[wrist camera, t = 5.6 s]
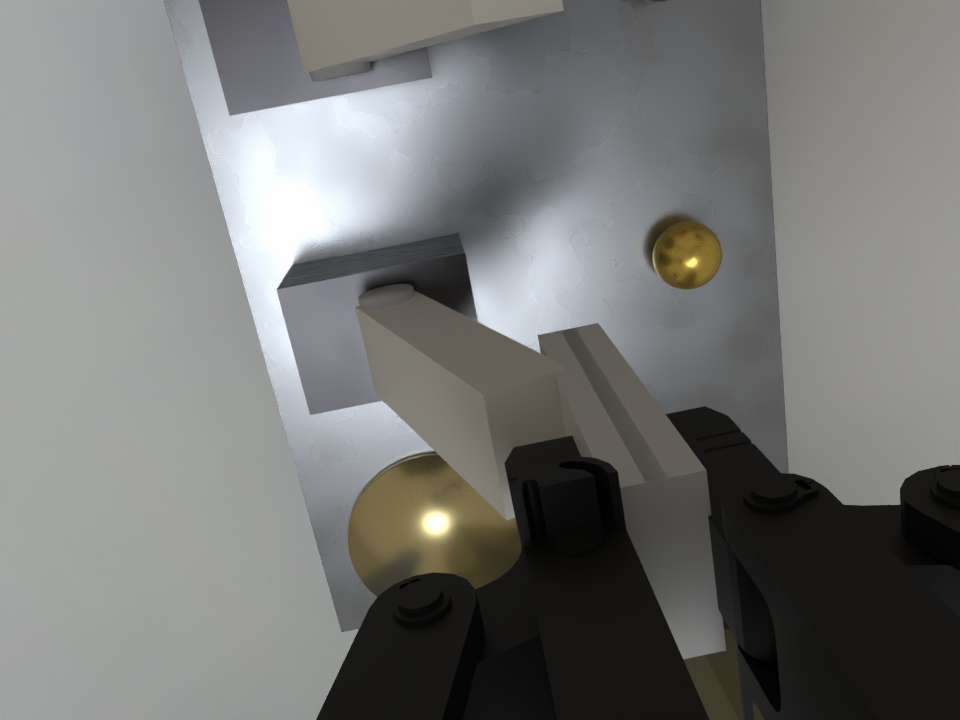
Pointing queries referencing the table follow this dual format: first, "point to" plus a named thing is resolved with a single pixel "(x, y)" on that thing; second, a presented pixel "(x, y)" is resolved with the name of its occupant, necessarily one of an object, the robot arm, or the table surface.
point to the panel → (491, 236)
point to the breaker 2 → (459, 385)
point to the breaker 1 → (393, 28)
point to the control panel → (719, 682)
